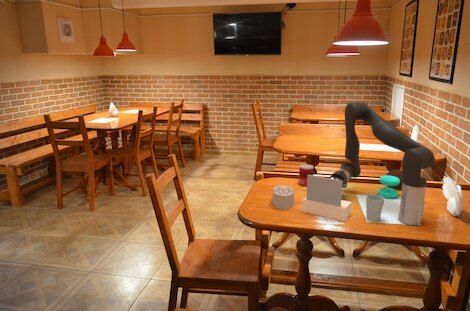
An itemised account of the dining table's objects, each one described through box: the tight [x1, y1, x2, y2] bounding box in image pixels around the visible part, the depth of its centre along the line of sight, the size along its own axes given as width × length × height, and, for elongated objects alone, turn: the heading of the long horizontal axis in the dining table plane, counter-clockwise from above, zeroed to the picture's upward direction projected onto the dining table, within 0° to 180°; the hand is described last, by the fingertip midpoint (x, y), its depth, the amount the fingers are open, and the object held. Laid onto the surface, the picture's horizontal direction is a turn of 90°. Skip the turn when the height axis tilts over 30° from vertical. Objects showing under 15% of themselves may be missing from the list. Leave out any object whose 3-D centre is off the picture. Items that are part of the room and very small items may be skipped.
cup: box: [365, 193, 386, 223], centre depth 164 cm, size 8×8×10 cm
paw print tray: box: [271, 184, 295, 211], centre depth 181 cm, size 10×13×9 cm
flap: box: [305, 174, 343, 207], centre depth 165 cm, size 16×1×12 cm, turn 56°
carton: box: [301, 196, 352, 222], centre depth 171 cm, size 20×10×6 cm, turn 56°
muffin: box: [385, 169, 403, 191], centre depth 205 cm, size 12×11×10 cm
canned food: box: [298, 164, 315, 188], centre depth 210 cm, size 8×8×11 cm
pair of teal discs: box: [377, 175, 400, 199], centre depth 193 cm, size 10×10×10 cm
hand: (327, 187), depth 169 cm, fingers closed
